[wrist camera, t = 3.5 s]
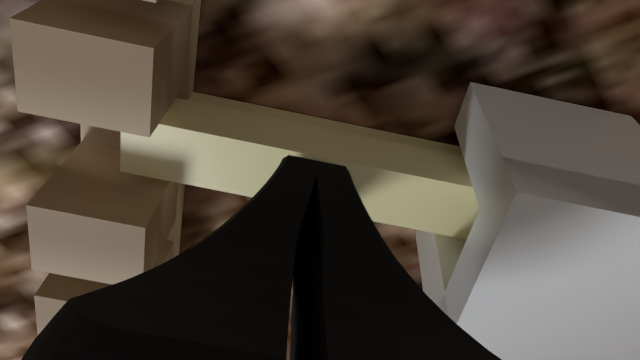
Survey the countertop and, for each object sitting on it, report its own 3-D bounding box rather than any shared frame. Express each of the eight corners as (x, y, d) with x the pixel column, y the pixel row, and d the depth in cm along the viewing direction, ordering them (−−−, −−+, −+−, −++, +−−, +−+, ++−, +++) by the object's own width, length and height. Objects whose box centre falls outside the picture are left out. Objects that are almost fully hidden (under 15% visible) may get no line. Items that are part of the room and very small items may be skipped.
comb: (177, 271, 18) (138, 365, 15) (95, 255, 17) (39, 347, 14) (212, -131, 12) (161, -115, 9) (90, -159, 12) (-6, -152, 9)
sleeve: (553, 261, 16) (618, 407, 12) (415, 233, 16) (434, 373, 12) (631, 116, 14) (743, 238, 10) (470, 82, 14) (516, 192, 10)
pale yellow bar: (967, 290, 16) (1050, 354, 14) (151, 125, 15) (120, 171, 13) (1008, 252, 16) (1101, 314, 14) (153, 76, 14) (120, 116, 12)
